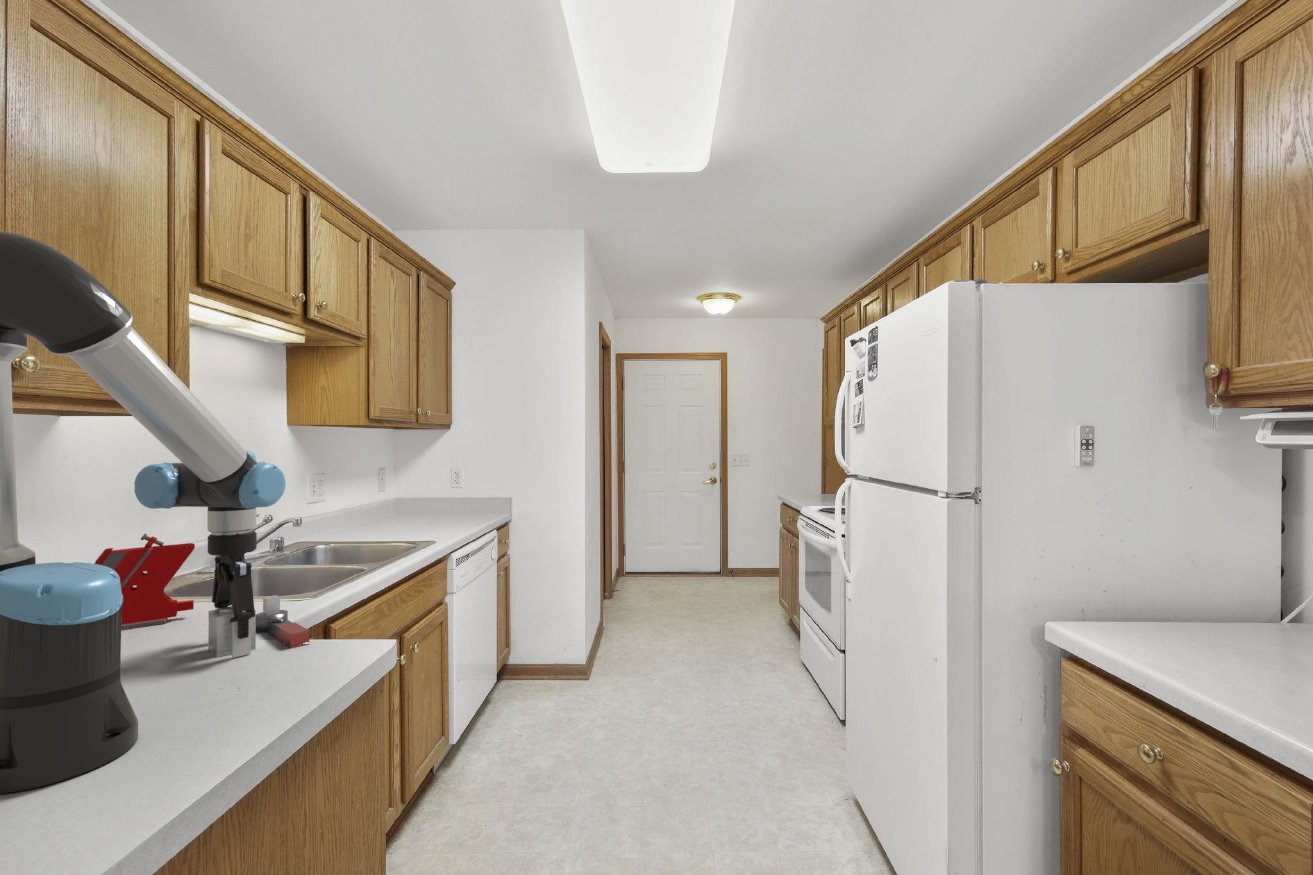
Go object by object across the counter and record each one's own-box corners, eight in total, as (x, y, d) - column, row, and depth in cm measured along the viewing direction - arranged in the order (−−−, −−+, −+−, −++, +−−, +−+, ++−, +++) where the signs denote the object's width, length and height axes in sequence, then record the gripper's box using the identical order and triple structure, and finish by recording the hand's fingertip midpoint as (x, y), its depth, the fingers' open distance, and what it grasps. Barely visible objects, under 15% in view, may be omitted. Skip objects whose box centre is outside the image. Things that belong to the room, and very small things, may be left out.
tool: (13, 640, 112) (90, 518, 118) (19, 631, 116) (93, 514, 122) (163, 665, 126) (225, 555, 132) (163, 657, 130) (224, 551, 136)
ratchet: (282, 650, 110) (283, 615, 110) (251, 628, 123) (251, 597, 123) (316, 642, 114) (316, 608, 114) (282, 622, 127) (282, 592, 127)
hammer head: (216, 657, 106) (217, 614, 106) (208, 649, 110) (208, 608, 110) (255, 648, 111) (255, 607, 111) (246, 641, 115) (246, 602, 115)
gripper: (275, 535, 106) (275, 656, 106) (238, 524, 121) (238, 630, 121) (225, 540, 100) (225, 669, 100) (193, 528, 115) (193, 639, 115)
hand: (232, 647), depth 110 cm, fingers open, 11 cm apart
